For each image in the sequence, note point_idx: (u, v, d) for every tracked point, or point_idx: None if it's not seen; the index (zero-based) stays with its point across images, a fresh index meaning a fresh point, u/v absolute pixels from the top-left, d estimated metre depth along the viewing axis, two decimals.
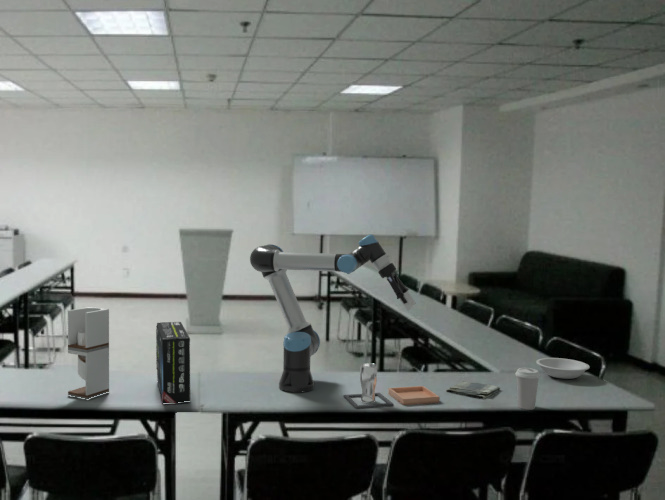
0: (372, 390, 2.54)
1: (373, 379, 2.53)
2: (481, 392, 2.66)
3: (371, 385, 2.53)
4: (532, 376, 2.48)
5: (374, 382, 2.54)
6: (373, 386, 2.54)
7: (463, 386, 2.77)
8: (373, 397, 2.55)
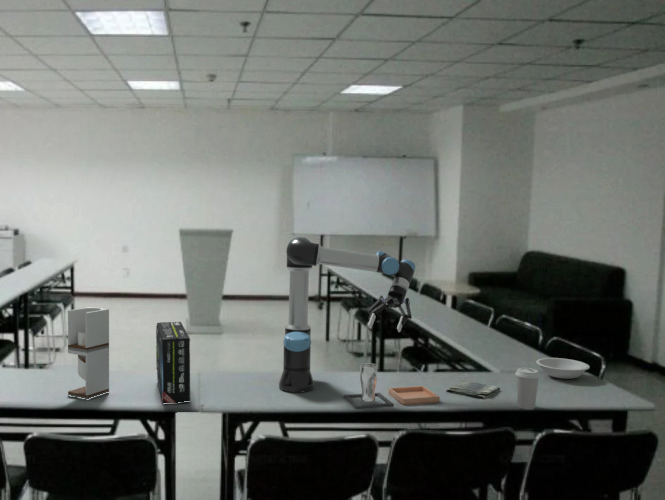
0: (372, 390, 2.54)
1: (373, 379, 2.53)
2: (481, 392, 2.66)
3: (371, 385, 2.53)
4: (532, 376, 2.48)
5: (374, 382, 2.54)
6: (373, 386, 2.54)
7: (463, 386, 2.77)
8: (373, 397, 2.55)
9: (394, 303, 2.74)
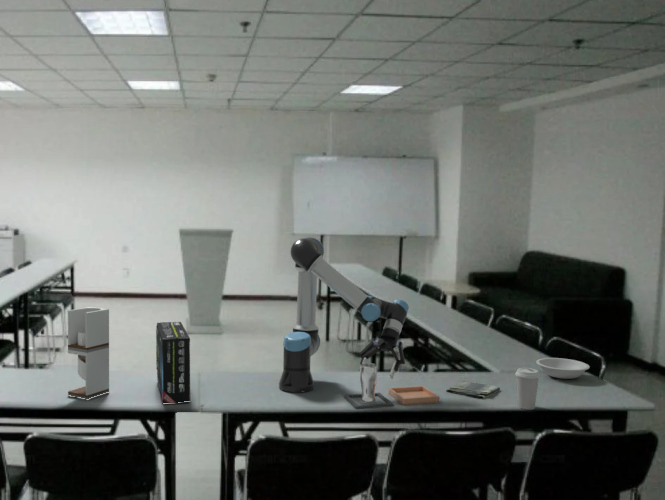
0: (372, 390, 2.54)
1: (373, 379, 2.53)
2: (481, 392, 2.66)
3: (371, 385, 2.53)
4: (532, 376, 2.48)
5: (374, 382, 2.54)
6: (373, 386, 2.54)
7: (463, 386, 2.77)
8: (373, 397, 2.55)
9: (387, 347, 2.64)
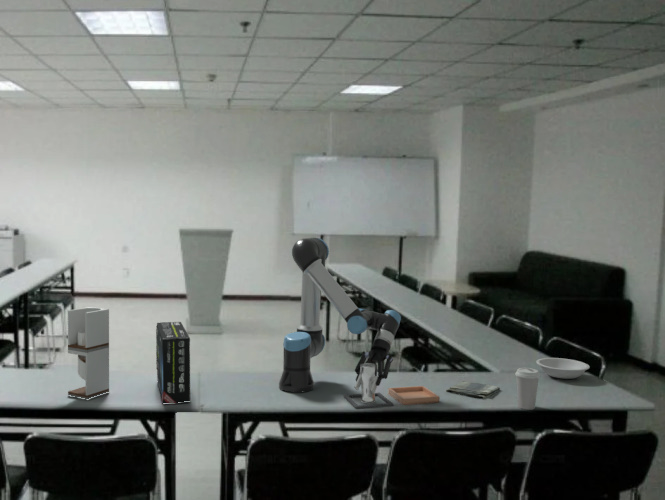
0: None
1: (373, 379, 2.53)
2: (481, 392, 2.66)
3: (371, 385, 2.53)
4: (532, 376, 2.48)
5: None
6: None
7: (463, 386, 2.77)
8: (373, 397, 2.55)
9: (377, 358, 2.60)
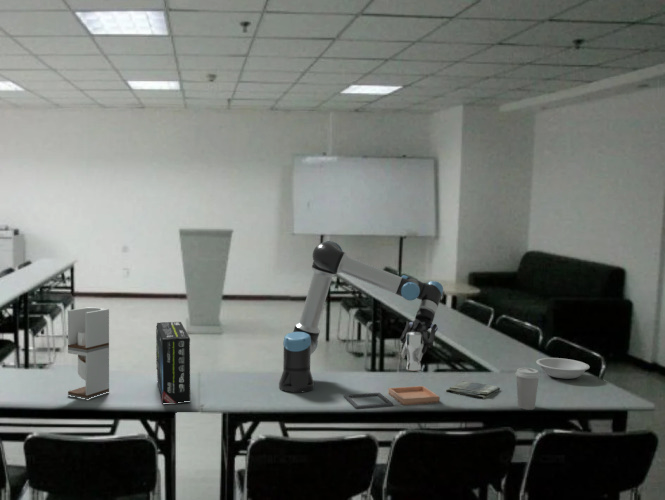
0: None
1: (419, 347, 2.57)
2: (481, 392, 2.66)
3: (417, 353, 2.58)
4: (532, 376, 2.48)
5: None
6: None
7: (463, 386, 2.77)
8: (419, 365, 2.59)
9: (422, 327, 2.65)
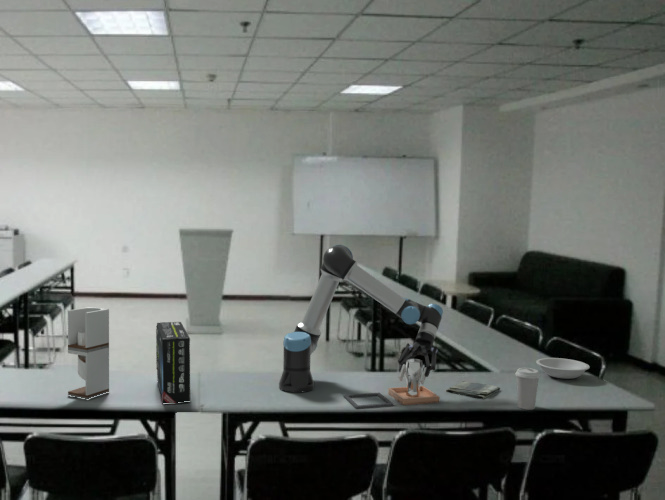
0: (417, 385, 2.59)
1: (419, 374, 2.59)
2: (481, 392, 2.66)
3: (417, 380, 2.59)
4: (532, 376, 2.48)
5: (419, 377, 2.59)
6: (418, 381, 2.59)
7: (463, 386, 2.77)
8: (418, 392, 2.60)
9: (422, 351, 2.66)
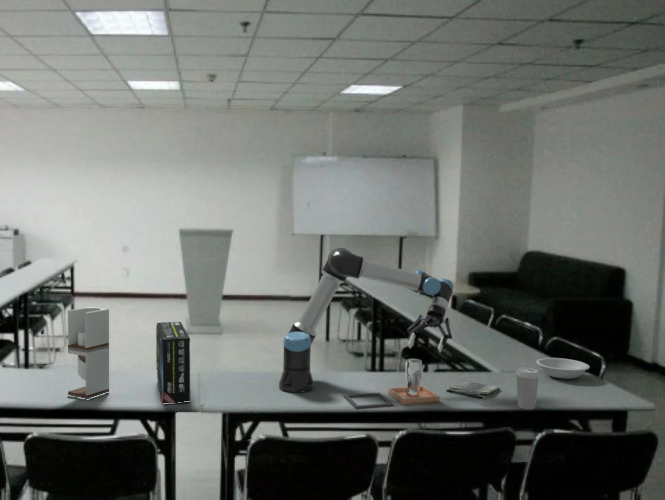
0: (417, 385, 2.59)
1: (418, 374, 2.59)
2: (481, 392, 2.66)
3: (416, 380, 2.59)
4: (532, 376, 2.48)
5: (419, 377, 2.59)
6: (418, 381, 2.59)
7: (463, 386, 2.77)
8: (418, 392, 2.60)
9: (434, 323, 2.76)
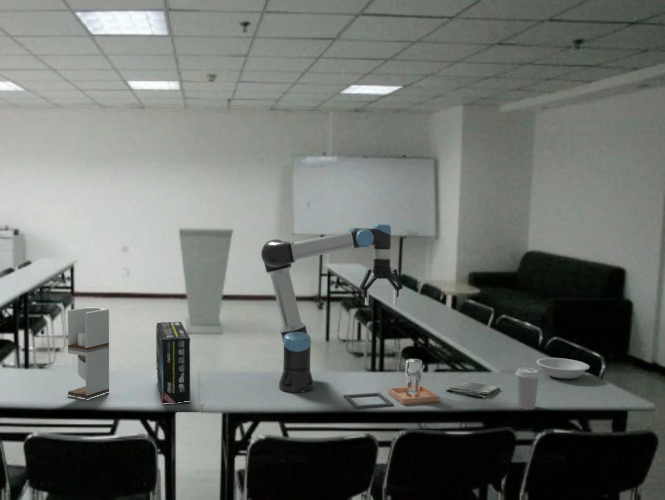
0: (417, 385, 2.59)
1: (419, 374, 2.59)
2: (481, 392, 2.66)
3: (417, 380, 2.59)
4: (532, 376, 2.48)
5: (419, 378, 2.59)
6: (418, 381, 2.59)
7: (463, 386, 2.77)
8: (418, 392, 2.60)
9: (384, 276, 2.86)
